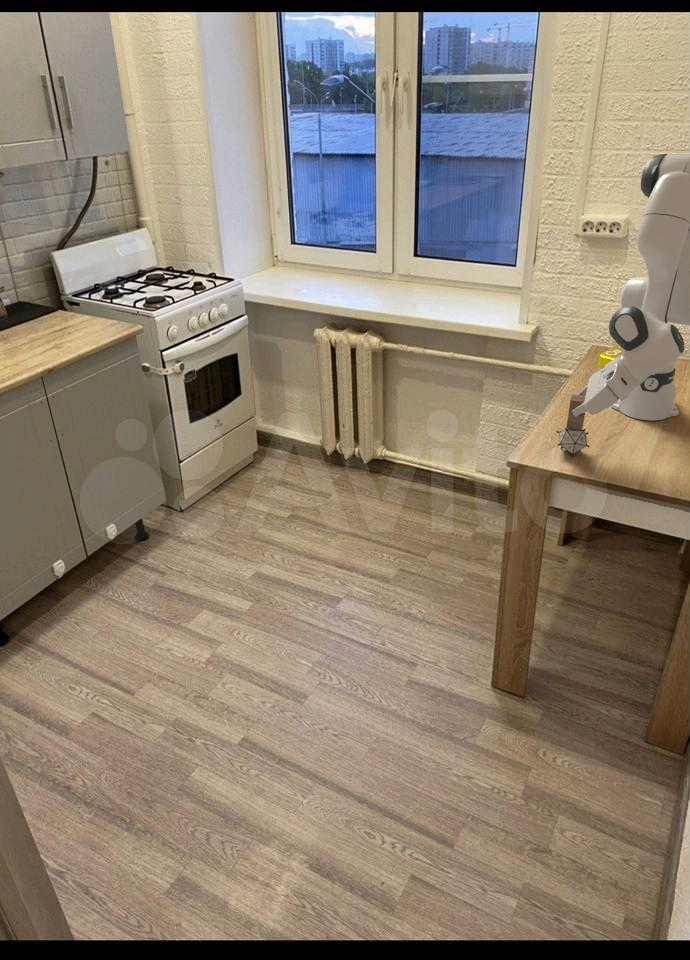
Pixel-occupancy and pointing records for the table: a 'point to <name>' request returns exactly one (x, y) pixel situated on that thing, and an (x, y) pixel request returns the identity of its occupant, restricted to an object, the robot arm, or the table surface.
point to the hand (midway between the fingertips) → (575, 406)
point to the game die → (572, 440)
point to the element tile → (609, 355)
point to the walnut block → (575, 421)
